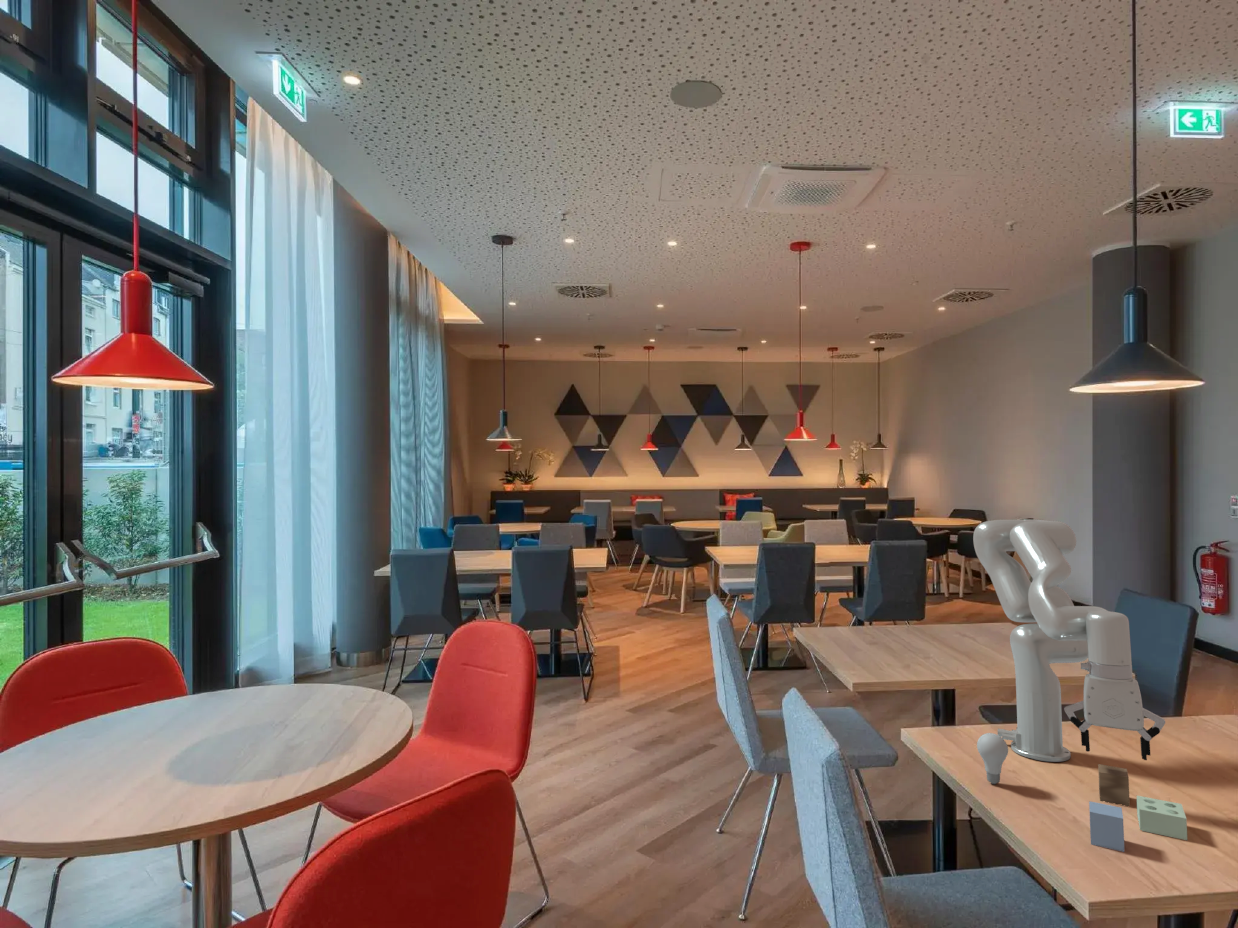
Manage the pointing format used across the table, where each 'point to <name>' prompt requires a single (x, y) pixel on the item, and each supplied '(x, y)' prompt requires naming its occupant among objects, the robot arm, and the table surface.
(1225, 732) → the table surface
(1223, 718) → the table surface
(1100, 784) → the walnut block
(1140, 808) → the base brick
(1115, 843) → the slate block
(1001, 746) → the lightbulb
